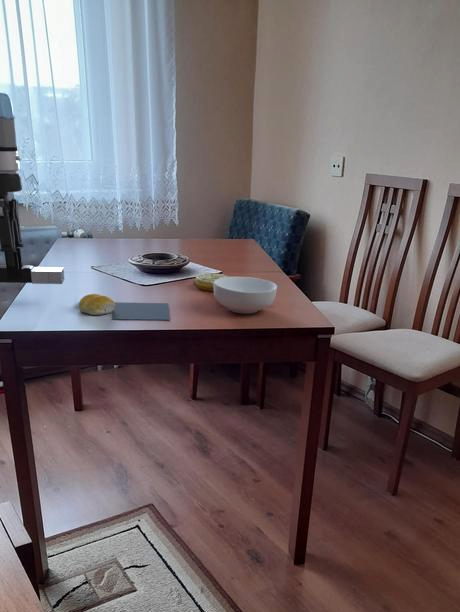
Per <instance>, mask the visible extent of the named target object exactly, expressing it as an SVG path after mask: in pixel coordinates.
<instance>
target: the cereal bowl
mask: <svg viewBox="0 0 460 612" xmlns="http://www.w3.org/2000/svg"><path fill="white" fill-rule="evenodd" d="M277 292H278V285H277V284H276V283H274V282H273V281H270V280H268V279H264V278H259V277H253V276H228V277H223V278H218V279H216V280H215V281H214V291H213V295H214V297H215V299H216V301H217V302H218V303H219V304H220V305H222V306H224V307H226V308H228V311H231V312H233V313H235V314H236V313H237V314H245V315H247V314H248V315H249V314H255V313H257V312H258V311H260V310H264V309H266V308H268V307H270V306H271V305H272V304H273V303H274V302H275V299H276V296H277Z"/></svg>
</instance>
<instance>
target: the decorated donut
mask: <svg viewBox="0 0 460 612" xmlns="http://www.w3.org/2000/svg"><path fill="white" fill-rule="evenodd" d="M223 277H229V276H228V275H227V274H222V273H214V272H204V273H200V274H197V275H196V276H195V278H194V279H195V280H194V282H195V285H196V286H197V288H198V289H200V290H202V291H209V292H214V281H215V280H216V279H218V278H223Z"/></svg>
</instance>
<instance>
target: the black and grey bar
mask: <svg viewBox="0 0 460 612" xmlns="http://www.w3.org/2000/svg"><path fill="white" fill-rule="evenodd" d="M19 271H20V280H16V279H8V275H7V268H6V264H0V283H1V284H3V283H4V284H5V283H7V284H8V283H10V284H12V283H13V284H32V285H63V283H64V281H65V272H64V267H53V266H52V267H50V266H47V267H46V266H34V265H26V264H25V265H23V264H22V265H19Z"/></svg>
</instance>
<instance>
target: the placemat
mask: <svg viewBox="0 0 460 612" xmlns="http://www.w3.org/2000/svg"><path fill="white" fill-rule="evenodd" d="M114 303H115V307H114V310H113V311H112V317H111V321H171V315H170V307H169V303H168V302H122V301H121V302H116V301H114Z"/></svg>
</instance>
